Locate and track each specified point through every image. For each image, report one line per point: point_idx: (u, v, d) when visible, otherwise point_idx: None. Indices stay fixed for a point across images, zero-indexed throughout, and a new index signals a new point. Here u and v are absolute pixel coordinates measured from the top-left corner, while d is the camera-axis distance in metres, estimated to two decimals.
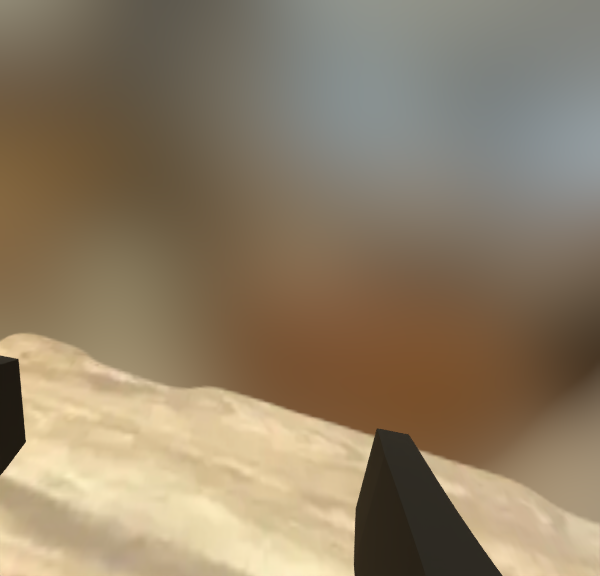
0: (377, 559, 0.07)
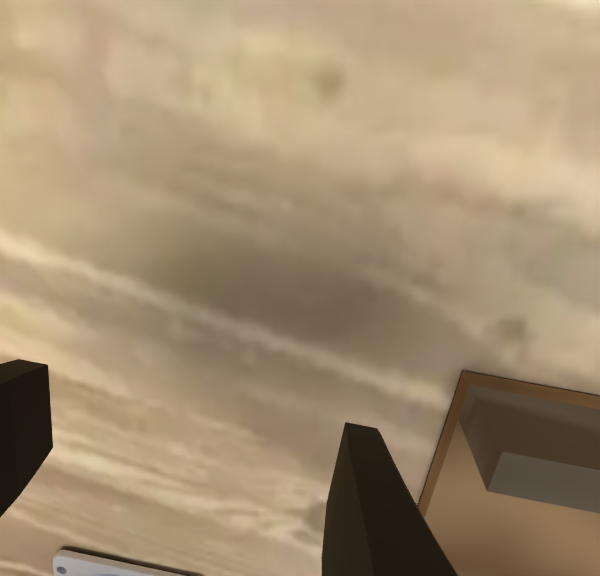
0: (339, 551, 0.07)
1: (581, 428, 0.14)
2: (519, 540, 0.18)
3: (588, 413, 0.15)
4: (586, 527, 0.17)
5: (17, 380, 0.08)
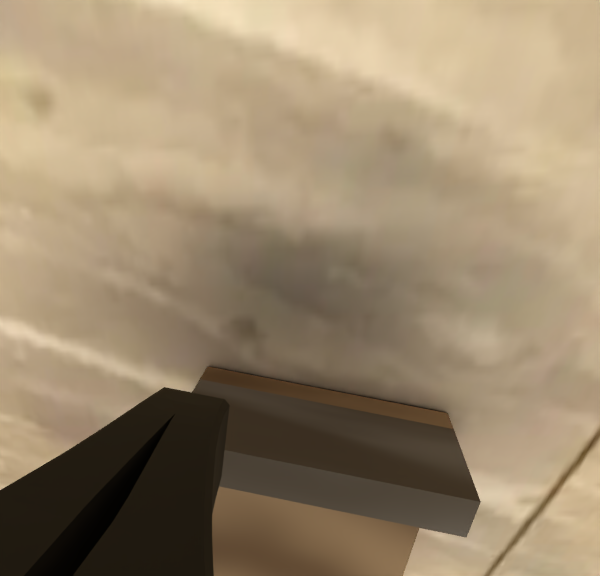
0: None
1: (275, 418, 0.15)
2: (275, 525, 0.19)
3: (300, 405, 0.16)
4: (331, 513, 0.18)
5: None
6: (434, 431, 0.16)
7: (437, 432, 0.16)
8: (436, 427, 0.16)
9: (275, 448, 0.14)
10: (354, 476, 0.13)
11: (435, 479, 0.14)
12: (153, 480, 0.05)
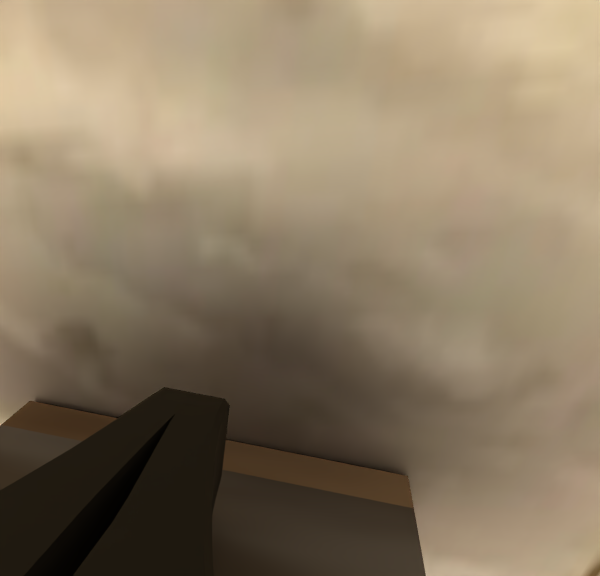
0: None
1: None
2: None
3: None
4: None
5: None
6: (380, 515, 0.10)
7: (384, 518, 0.10)
8: (384, 506, 0.10)
9: None
10: None
11: None
12: (153, 480, 0.05)
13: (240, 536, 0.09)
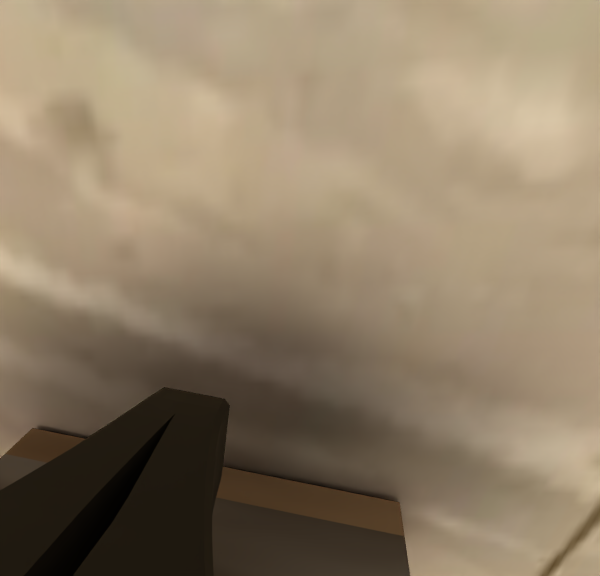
0: None
1: None
2: None
3: None
4: None
5: None
6: (371, 544, 0.10)
7: (375, 547, 0.10)
8: (376, 534, 0.10)
9: None
10: None
11: None
12: (153, 480, 0.05)
13: (236, 567, 0.09)
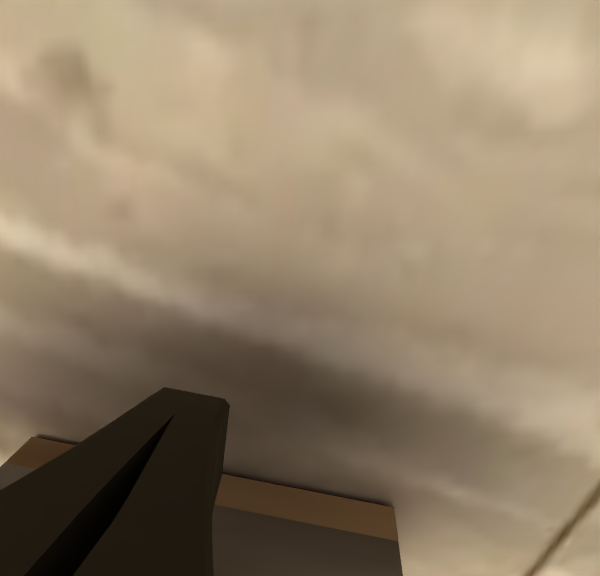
0: None
1: None
2: None
3: None
4: None
5: None
6: (365, 549, 0.10)
7: (370, 552, 0.10)
8: (370, 539, 0.10)
9: None
10: None
11: None
12: (153, 480, 0.05)
13: (232, 573, 0.09)
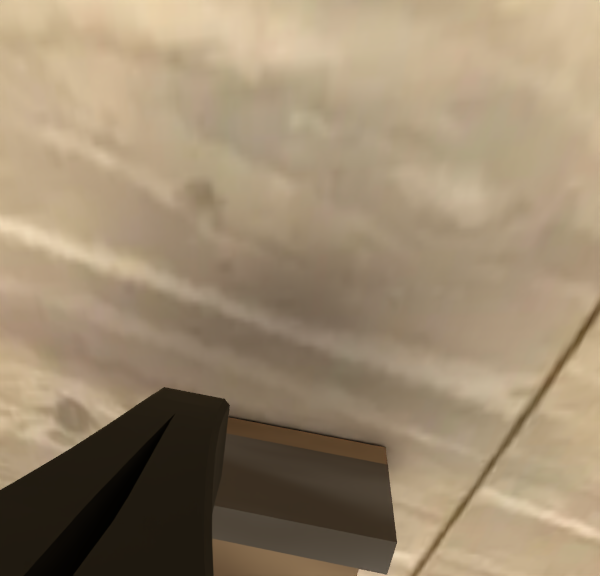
0: None
1: None
2: (226, 553, 0.20)
3: (239, 443, 0.17)
4: None
5: None
6: (367, 467, 0.17)
7: (370, 469, 0.17)
8: (370, 463, 0.17)
9: None
10: (278, 518, 0.14)
11: (357, 520, 0.14)
12: (153, 480, 0.05)
13: (291, 476, 0.16)
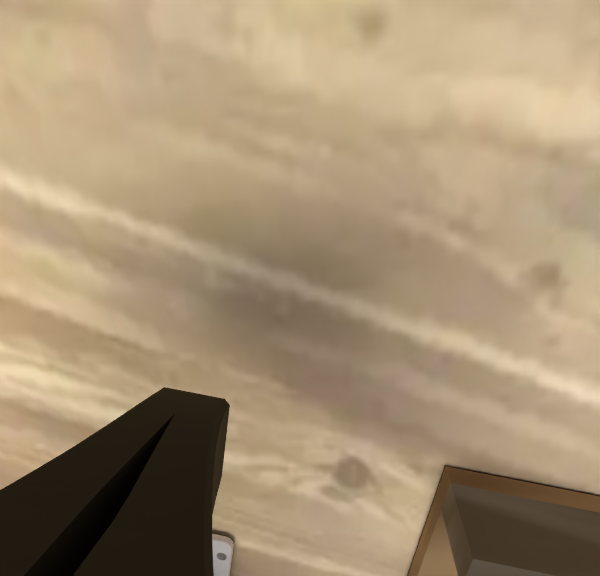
0: None
1: (541, 528, 0.17)
2: None
3: (550, 510, 0.18)
4: None
5: None
6: None
7: None
8: None
9: (565, 564, 0.15)
10: None
11: None
12: (153, 480, 0.05)
13: None
